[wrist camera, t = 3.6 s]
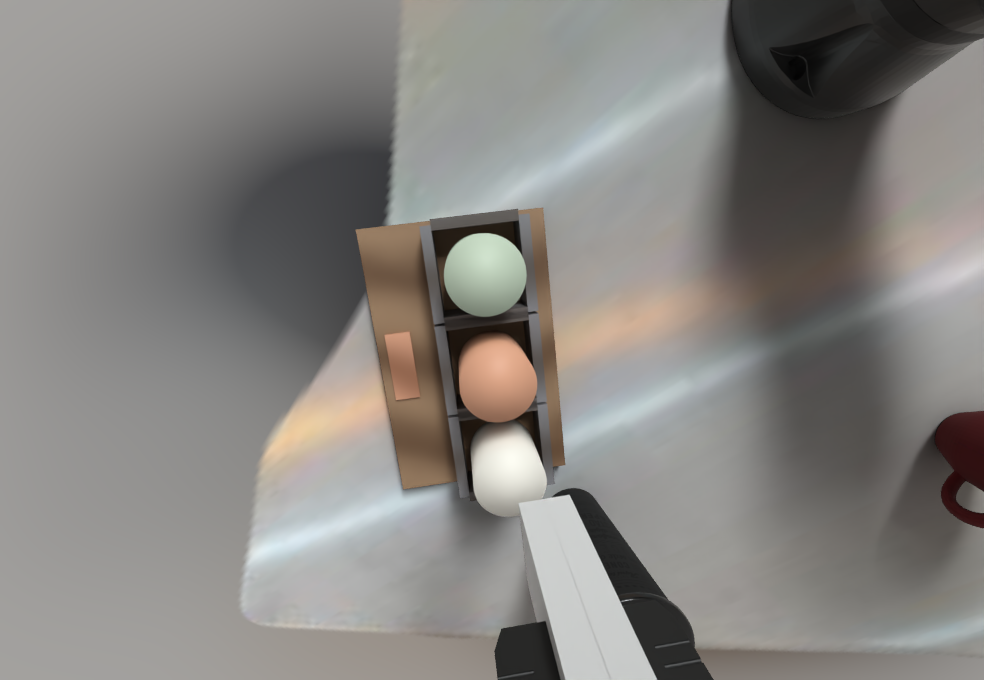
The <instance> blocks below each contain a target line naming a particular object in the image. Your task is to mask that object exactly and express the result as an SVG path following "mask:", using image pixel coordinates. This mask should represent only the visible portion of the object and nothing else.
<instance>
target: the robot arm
mask: <svg viewBox="0 0 984 680" xmlns="http://www.w3.org/2000/svg"><path fill="white" fill-rule="evenodd" d="M732 24H733V33H734V39H735V43H736V47H737V51H738V54H739V57H740V59H741V62H742V64H743V66H744V69H745V71H746V72H747V74H748V76H749V78H750V79H751V81H752V82H753V84H754V85H755V86H756V87H757V89H758V90H759V91H760V92H761V93H762V94H763V95H764V96H765V97H766V98H767V99H768V100H769V101H771V102H772V103H773V104H775V105H776V106H778V107H780V108H781V109H783V110H785V111H787V112H790V113H792V114H795V115H798V116H802V117H807V118H819V119H823V118H833V117H839V116H843V115H847V114H850V113H853V112H856V111H860V110H863V109H866V108H869V107H872V106H875V105H878V104H880V103H882V102H884V101H886V100H888V99H890V98H892V97H894V96H896V95H898V94H899V93H901V92H903V91H904V90H905V89H907V88H908V87H910V86H911V85H913V84H914V83H916V82H917V81H919V80H920V79H921V78H923V77H924V76H926V75H927V74H929V73H930V72H931V71H933V70H934V69H936V68H937V67H939V66H940V65H941V64H943V63H944V62H946V61H947V60H949V59H950V58H951V57H953V56H954V55H956V54H957V53H958V52H960V51H961V50H963V49H964V48H966V47H967V46H968V45H970V44H971V43H973V42H974V41H977V40H979V39H982V38H984V0H732ZM518 504H519V513H520V522H521V530H522V539H523V548H524V557H525V565H526V574H527V583H528V587H529V592H530V596H531V600H532V604H533V609H534V613H535V617H536V622H537V623H531V624H525V625H520V626H514V627H509V628H503V629H501V632H500V635H499V638H498V642H497V645H496V649H495V660H496V668H497V677H498V680H713V678H712V677H711V675H710V673H709V672H708V670H707V668H706V667H705V665H704V663H702V662H701V659H700V657H699V655H698V653H697V652H696V650H695V648H694V647H693V645H692V644H690V641H689V638H688V637H687V635H686V633H685V632H684V630H683V628H682V627H681V625H680V623H679V622H678V620H677V618H676V617H675V616H674V615H673V614H672V613H671V612H669V611H668V610H667V609H666V608H665V607H664V606H662V605H661V604H660V603H659V602H658V601H657V600H651V601H645V602H640V603H634V604H628V605H623V606H622V605H621V602H620V600H619V598H618V596H617V594H616V592H615V590H614V588H613V586H612V583H611V581H610V579H609V577H608V575H607V573H606V571H605V569H604V566H603V564H602V562H601V560H600V558H599V556H598V554H597V552H596V550H595V547H594V545H593V543H592V541H591V539H590V537H589V535H588V533H587V531H586V528H585V526H584V524H583V522H582V520H581V518H580V516H579V514H578V512H577V509H576V507H575V505H574V503H573V501H572V499H571V497H570V495H565V496H559V497H553V498H546V499H540V500H534V501H528V502H522V503H518Z"/></svg>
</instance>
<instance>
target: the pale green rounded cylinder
mask: <svg viewBox="0 0 984 680" xmlns="http://www.w3.org/2000/svg"><path fill="white" fill-rule="evenodd" d="M526 277H527V274H526V265H525V262H524V259H523V257H522V255H521V253H520V252H519V250H518V249H517V248H516V246H514V245H513V244H512V243H511V242H510V241H508V240H507V239H505V238H503V237H501V236H498V235H495V234H489V233H478V234H471V235H468V236H466V237H464V238H462V239H460V240H459V241H458V242H457V243H456V244H455V245H454V246H453V247H452V248H451V250H450V252H449V254H448V256H447V259H446V263H445V268H444V282H445V287H446V290H447V292H448V294H449V296H450V298H451V299H452V301H453V302H454V303H455V304H456V305H457V306H458V307H459V308H460V309H462V310H463V311H465V312H467V313H469V314H472V315H475V316H481V317H489V316H495V315H498V314H501V313H503V312H505V311H507V310H508V309H510V308H511V307H512V306H513V305H514V304H515V303H516V302H517V301H518V300H519V298H520V297H521V295H522V293H523V290H524V288H525V284H526Z"/></svg>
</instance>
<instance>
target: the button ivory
mask: <svg viewBox="0 0 984 680" xmlns="http://www.w3.org/2000/svg"><path fill="white" fill-rule="evenodd" d="M470 451H471V463H472V475H473V487H474V493H475V496H476V499H477V501H478V502H479V504H480V505H481V506H482V507H483V508H484V509H485V510H487V511H488V512H490V513H492V514H494V515H497V516H502V517H515V516H519V515H520V513H519V504H518V503H522V502H528V501H534V500H540V499H542V498H543V496H544V493H545V491H546V486H547V478H546V473H545V470H544V468H543V465H542V462H541V460H540V457H539V455H538V452H537V450H536V447H535V444H534V442H533V439H532V437H531V435H530V433H529V431H528V430H527V428H526V427H525V426H524V425H522V424H521V423H519V422H518V421H515V420H510V421H506V422H499V423H496V422H486V423H485V424H483V425H482V426H481V427H480V428H479V429H478V430H477V431H476V432H475V434H474V436H473V438H472V441H471V446H470Z"/></svg>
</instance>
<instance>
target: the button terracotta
mask: <svg viewBox="0 0 984 680" xmlns="http://www.w3.org/2000/svg"><path fill="white" fill-rule="evenodd" d="M458 365H459V387H460V395H461V398H462V401H463V403H464V405H465V406H466V408H467V409H468V410H469V411H470V412H471V413H472V414H473V415H475V416H476V417H478V418H480V419H482V420H485V421H488V422H496V423H499V422H506V421H510V420H513V419H515V418H517V417H519V416H520V415H522V414H523V413H524V412H525V411H526V410H527V409H528V408H529V407H530V405H531V404H532V402H533V400H534V398H535V395H536V391H537V377H536V373H535V371H534V368H533V366H532V365H531V363H530V362H529V360H528V358H527V357H526V355H525V353H524V352H523V350H522V348H521V347H520V345H519V344H518V342H517V341H516V340H515V339H514V338H513V337H511V336H510V335H508V334H506V333H504V332H501V331H495V330H489V331H483V332H480V333H478V334H476V335H474V336H473V337H471V338H470V339H469V340H468V341H467V342H466V343H465V344H464V346H463V348H462V350H461V352H460V355H459V361H458Z"/></svg>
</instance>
